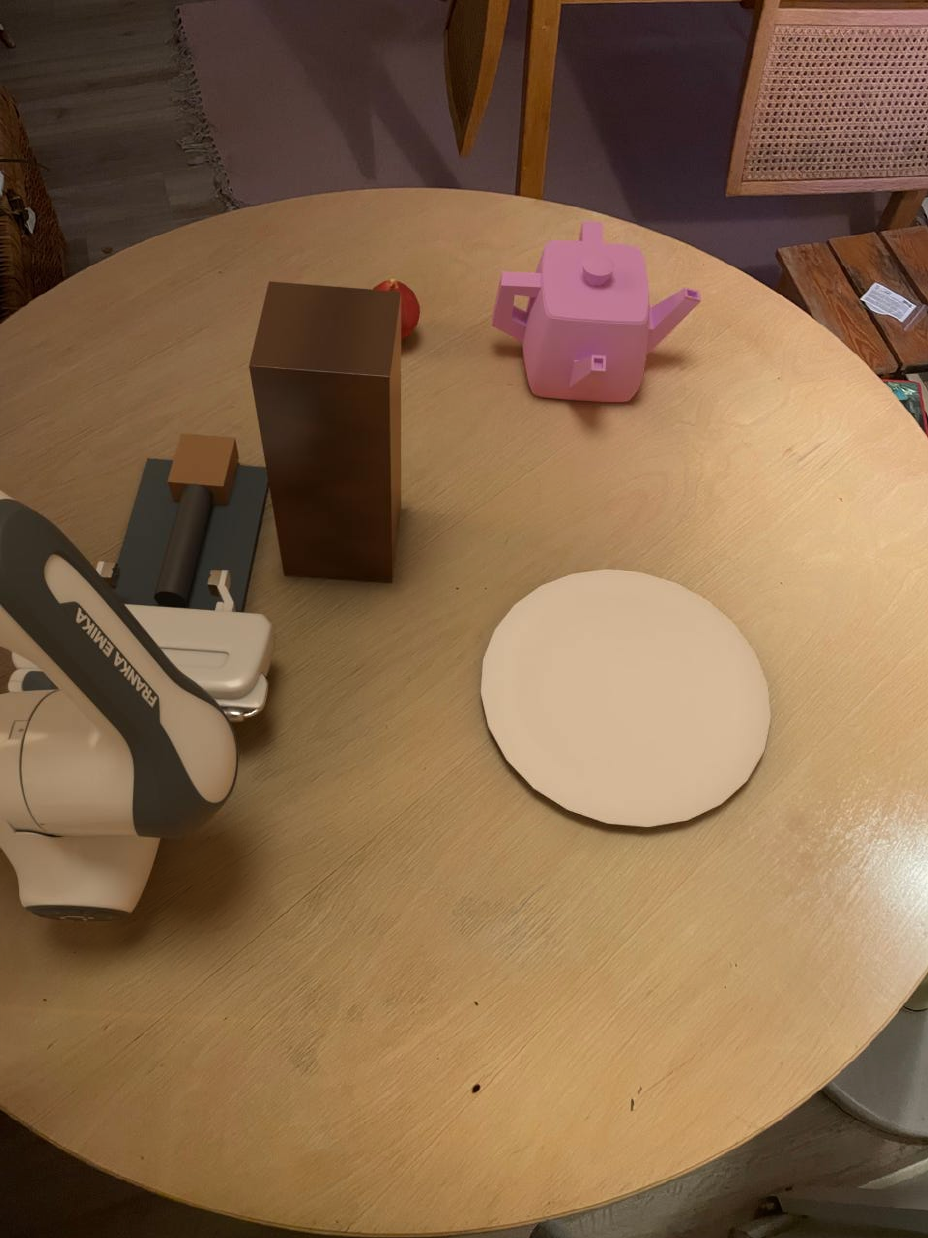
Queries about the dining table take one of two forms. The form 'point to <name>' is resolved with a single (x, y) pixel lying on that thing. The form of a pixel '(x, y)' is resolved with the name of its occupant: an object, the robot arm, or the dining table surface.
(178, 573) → the brown block with handle
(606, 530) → the dining table surface
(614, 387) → the teakettle
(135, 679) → the robot arm
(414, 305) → the onion
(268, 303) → the post
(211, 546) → the felt mat
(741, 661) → the plate
